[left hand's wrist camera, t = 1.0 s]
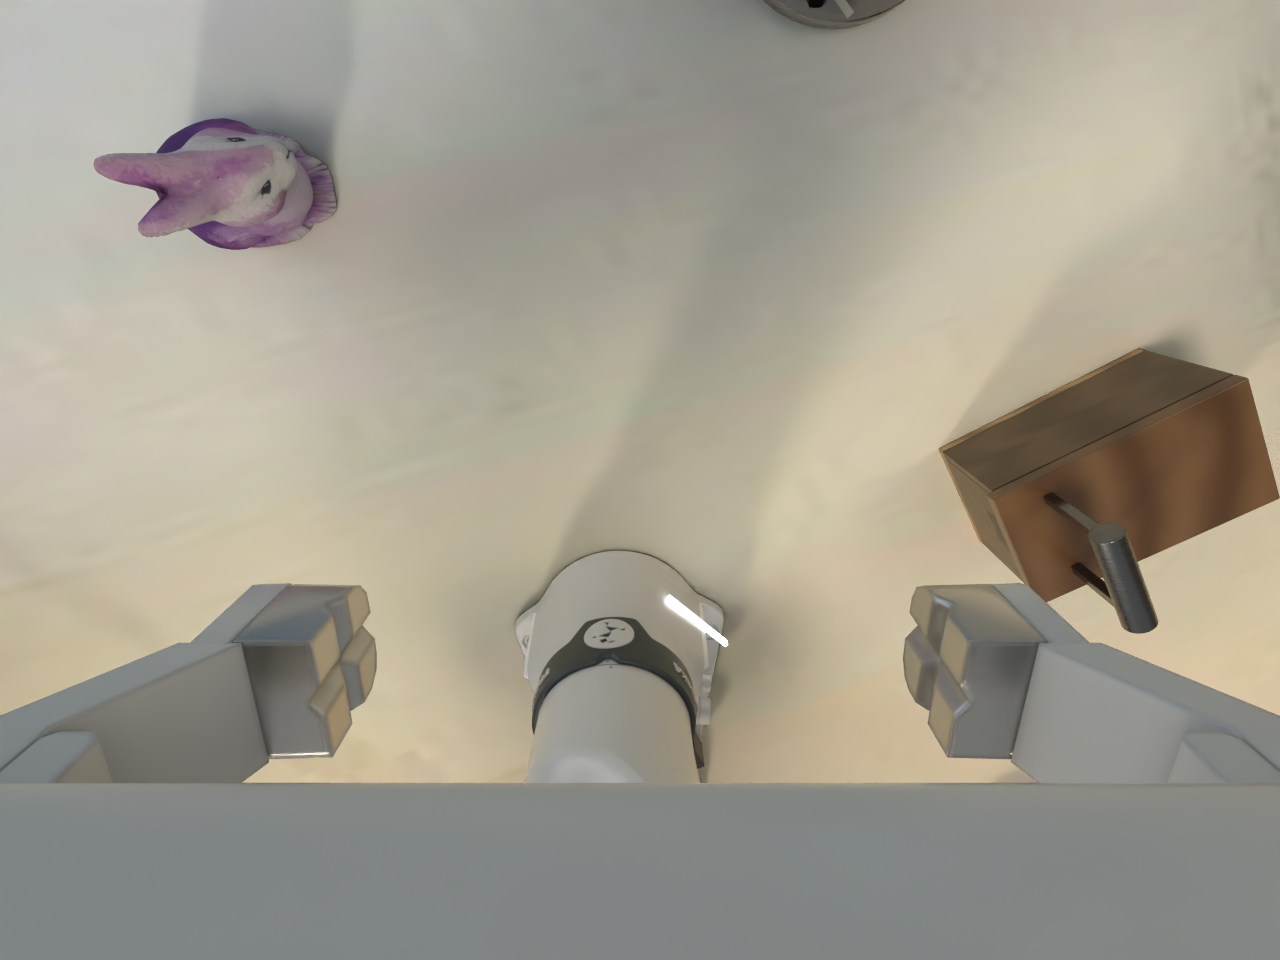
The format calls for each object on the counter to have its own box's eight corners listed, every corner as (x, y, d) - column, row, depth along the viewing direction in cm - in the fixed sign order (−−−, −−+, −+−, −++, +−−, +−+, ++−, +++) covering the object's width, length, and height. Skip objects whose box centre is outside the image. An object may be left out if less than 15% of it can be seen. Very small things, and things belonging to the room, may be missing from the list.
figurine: (368, 175, 49) (260, 159, 35) (290, 283, 52) (161, 309, 38) (253, 72, 47) (89, 11, 33) (178, 191, 50) (-4, 182, 36)
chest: (979, 540, 60) (1036, 595, 51) (938, 448, 57) (991, 490, 48) (1171, 449, 57) (1266, 491, 48) (1139, 348, 54) (1233, 373, 45)
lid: (1030, 598, 51) (1101, 669, 43) (985, 494, 48) (1053, 549, 40) (1266, 492, 48) (1390, 547, 40) (1234, 373, 45) (1361, 408, 37)
